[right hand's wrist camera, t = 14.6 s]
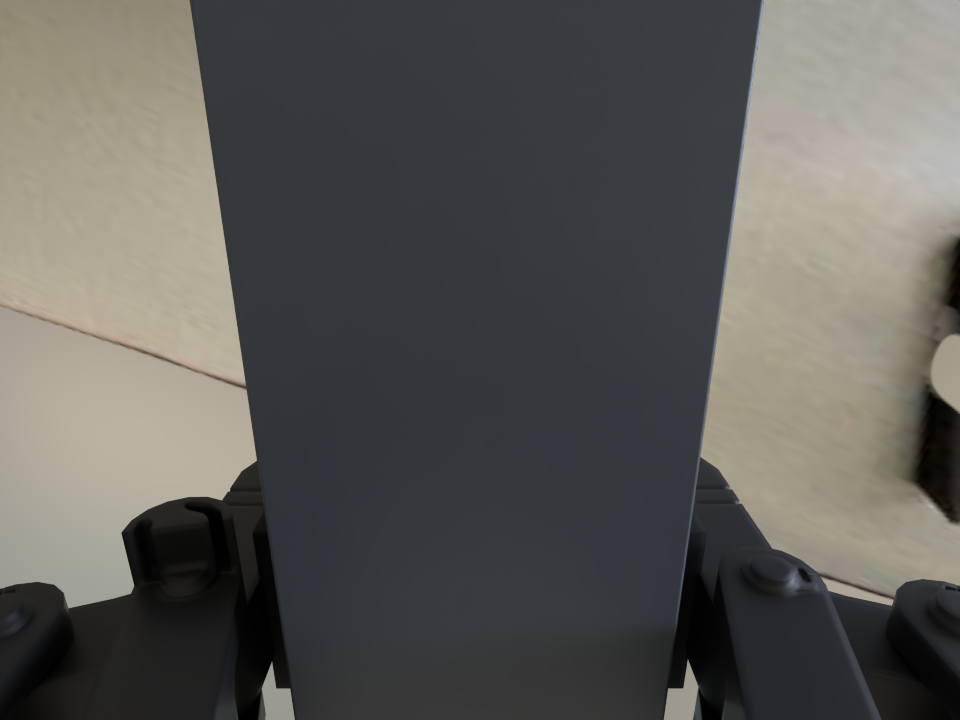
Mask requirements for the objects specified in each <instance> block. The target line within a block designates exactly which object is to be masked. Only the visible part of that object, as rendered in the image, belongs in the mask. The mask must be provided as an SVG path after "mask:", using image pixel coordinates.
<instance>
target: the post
mask: <svg viewBox="0 0 960 720" xmlns="http://www.w3.org/2000/svg"><path fill="white" fill-rule="evenodd" d="M763 4H764V0H190V5H191V12H192V18H193V25H194V32H195V39H196V46H197V53H198V59H199V66H200V73H201V80H202V87H203V94H204V101H205V107H206V114H207V121H208V128H209V135H210V142H211V148H212V155H213V162H214V169H215V176H216V183H217V189H218V196H219V203H220V210H221V217H222V224H223V231H224V237H225V244H226V251H227V258H228V265H229V272H230V278H231V285H232V292H233V299H234V306H235V313H236V319H237V326H238V333H239V340H240V347H241V354H242V360H243V367H244V374H245V381H246V388H247V395H248V401H249V408H250V415H251V422H252V429H253V436H254V442H255V449H256V456H257V463H258V470H259V477H260V484H261V490H262V497H263V504H264V511H265V518H266V525H267V532H268V538H269V545H270V552H271V559H272V566H273V573H274V579H275V586H276V593H277V600H278V607H279V614H280V620H281V627H282V634H283V641H284V648H285V655H286V661H287V668H288V675H289V682H290V689H291V695H292V703H293V709H294V716H295V720H664V713H665V706H666V699H667V692H668V685H669V677H670V670H671V663H672V656H673V649H674V642H675V634H676V627H677V620H678V613H679V606H680V599H681V591H682V584H683V577H684V570H685V563H686V556H687V548H688V541H689V534H690V527H691V520H692V513H693V505H694V498H695V491H696V484H697V477H698V470H699V462H700V455H701V448H702V441H703V434H704V427H705V419H706V412H707V405H708V398H709V391H710V384H711V376H712V369H713V362H714V355H715V348H716V341H717V333H718V326H719V319H720V312H721V305H722V298H723V290H724V283H725V276H726V269H727V262H728V255H729V247H730V240H731V233H732V226H733V219H734V212H735V204H736V197H737V190H738V183H739V176H740V169H741V161H742V154H743V147H744V140H745V133H746V126H747V118H748V111H749V104H750V97H751V90H752V83H753V75H754V68H755V61H756V54H757V47H758V40H759V32H760V25H761V18H762V11H763Z"/></svg>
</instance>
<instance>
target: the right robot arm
mask: <svg viewBox="0 0 960 720" xmlns="http://www.w3.org/2000/svg"><path fill="white" fill-rule="evenodd" d="M122 537H123V541H124V545H125V549H126V553H127V557H128V562H129V565H130V570H131V574H132V578H133V582H134V588H133V590H132V593H131V594H129V595H125V596H122V597H118V598H114V599H110V600H105V601H101V602H96V603H92V604H87V605H82V606H78V607H73V608H68V606H67V603H66V600H65V596H64V593H63V592H62V591H61V590H60V589H58V588H57V587H56V586H55V585H52V584H46V583H40V582H33V583H25V584H16V585H13V586H9V587H5V588H3V589H0V720H265V715H266V713H265V707H264V700H263V694H262V686H263V683H264V681H265V678H266V675H267V673H268V670H269V667H270V665H271V662H272V663H273V669H274V676H275V682H276V688H290V682H289V675H288V668H287V661H286V655H285V648H284V641H283V634H282V627H281V620H280V614H279V607H278V600H277V593H276V586H275V579H274V573H273V566H272V559H271V552H270V545H269V538H268V532H267V525H266V518H265V511H264V504H263V497H262V490H261V484H260V477H259V470H258V463H257V461H256V462H255V463H253V464H252V465H250V466H249V467H247V468H246V469H244V470H243V471H242V472H241V473H240V475H239V476H238V478H237V479H236V481H235V482H234V484H233V485H232V487H231V488H230V492H228V493H227V494H226V496H225V497H224V498H223V500H218V499H214V498H210V497H187V498H183V499H178V500H173V501H168V502H166V503H163V504H161V505H158V506H156V507H153V508H151V509H148V510H147V511H145V512H144V513H142V514H141V515H139V516H138V517H136V518H135V519H133V520H132V521H131V522H130V523H129V524H128V525H127V527H126V528H125V529H124V530H123V531H122ZM687 660H689V663H690V665H691V668H692V671H693V673H694V676H695V678H696V681H697V684H698V686H699V688H698V694H697V700H696V706H695V712H694V718H693V720H960V586H957V585H955V584H951V583H947V582H943V581H934V580H925V579H921V580H915V581H910V582H906V583H904V584H903V585H902V586H901V587H900V588H899V589H897V591H896V595H895V598H894V601H893V605H892V606H890V605H885V604H881V603H876V602H872V601H867V600H862V599H857V598H853V597H848V596H844V595H841V594H837V593H833V592H830V591H828V589H827V587H826V585H825V583H824V582H823V580H822V579H821V578H820V576H819V575H818V573H817V572H816V571H815V570H813V569H812V568H811V567H810V566H808V565H807V564H806V563H804V562H803V561H802V560H800V559H798V558H796V557H794V556H791V555H789V554H787V553H785V552H783V551H779V550H775V549H772V548H771V546H770V545H769V543H768V542H767V540H766V539H765V537H764V536H763V534H762V533H761V531H760V530H759V529H758V527H757V526H756V524H755V523H754V521H753V520H752V518H751V517H750V515H749V514H748V512H747V511H746V509H745V508H744V507H743V505H742V504H739V499H738V498H737V496H736V495H735V493H734V492H733V490H730V486H729V484H728V483H727V482H726V480H725V479H724V477H723V476H722V474H721V473H720V471H719V470H718V469H717V468H716V467H714V466H713V465H711V464H710V463H708V462H707V461H705V460H704V459H702V458H701V457H700V462H699V470H698V477H697V484H696V491H695V498H694V505H693V513H692V520H691V527H690V534H689V541H688V548H687V556H686V563H685V570H684V577H683V584H682V591H681V599H680V606H679V613H678V620H677V627H676V634H675V642H674V649H673V656H672V663H671V670H670V677H669V685H668V688H683V686H684V680H685V673H686V667H687Z"/></svg>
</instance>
